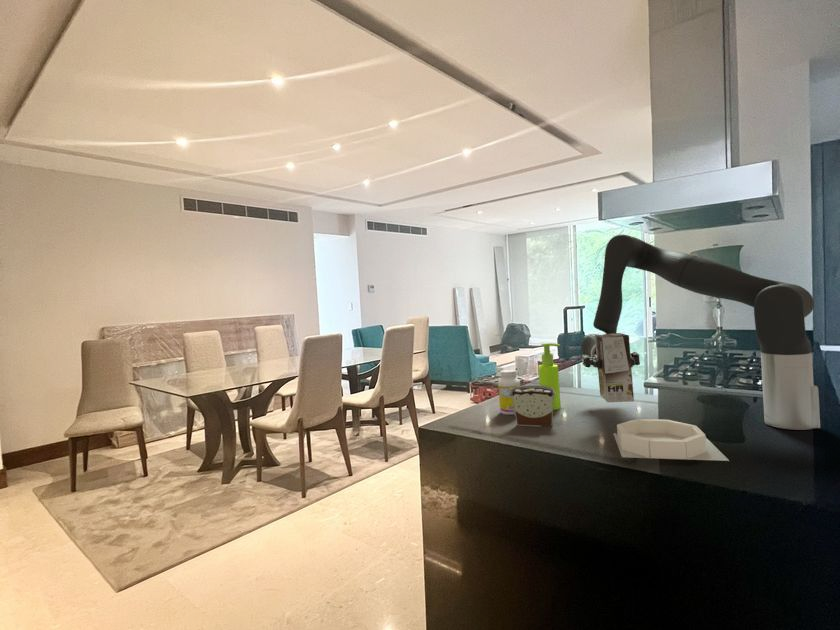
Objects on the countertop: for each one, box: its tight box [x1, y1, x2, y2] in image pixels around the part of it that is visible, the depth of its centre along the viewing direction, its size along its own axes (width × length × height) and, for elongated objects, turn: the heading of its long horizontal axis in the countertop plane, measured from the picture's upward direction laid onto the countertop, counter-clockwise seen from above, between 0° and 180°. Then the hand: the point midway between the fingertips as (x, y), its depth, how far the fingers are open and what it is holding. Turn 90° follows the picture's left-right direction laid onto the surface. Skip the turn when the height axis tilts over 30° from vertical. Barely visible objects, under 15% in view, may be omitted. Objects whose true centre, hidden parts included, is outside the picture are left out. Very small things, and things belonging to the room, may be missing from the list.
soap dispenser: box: [537, 342, 562, 411], centre depth 134 cm, size 6×7×20 cm
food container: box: [510, 384, 556, 428], centre depth 120 cm, size 12×6×10 cm, turn 65°
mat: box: [612, 433, 730, 462], centre depth 94 cm, size 19×16×1 cm
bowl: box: [616, 418, 707, 460], centre depth 95 cm, size 16×16×4 cm
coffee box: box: [594, 332, 635, 403], centre depth 109 cm, size 9×6×16 cm
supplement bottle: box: [497, 369, 521, 416], centre depth 133 cm, size 7×7×13 cm
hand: (615, 363), depth 107 cm, fingers closed on coffee box, 6 cm apart
